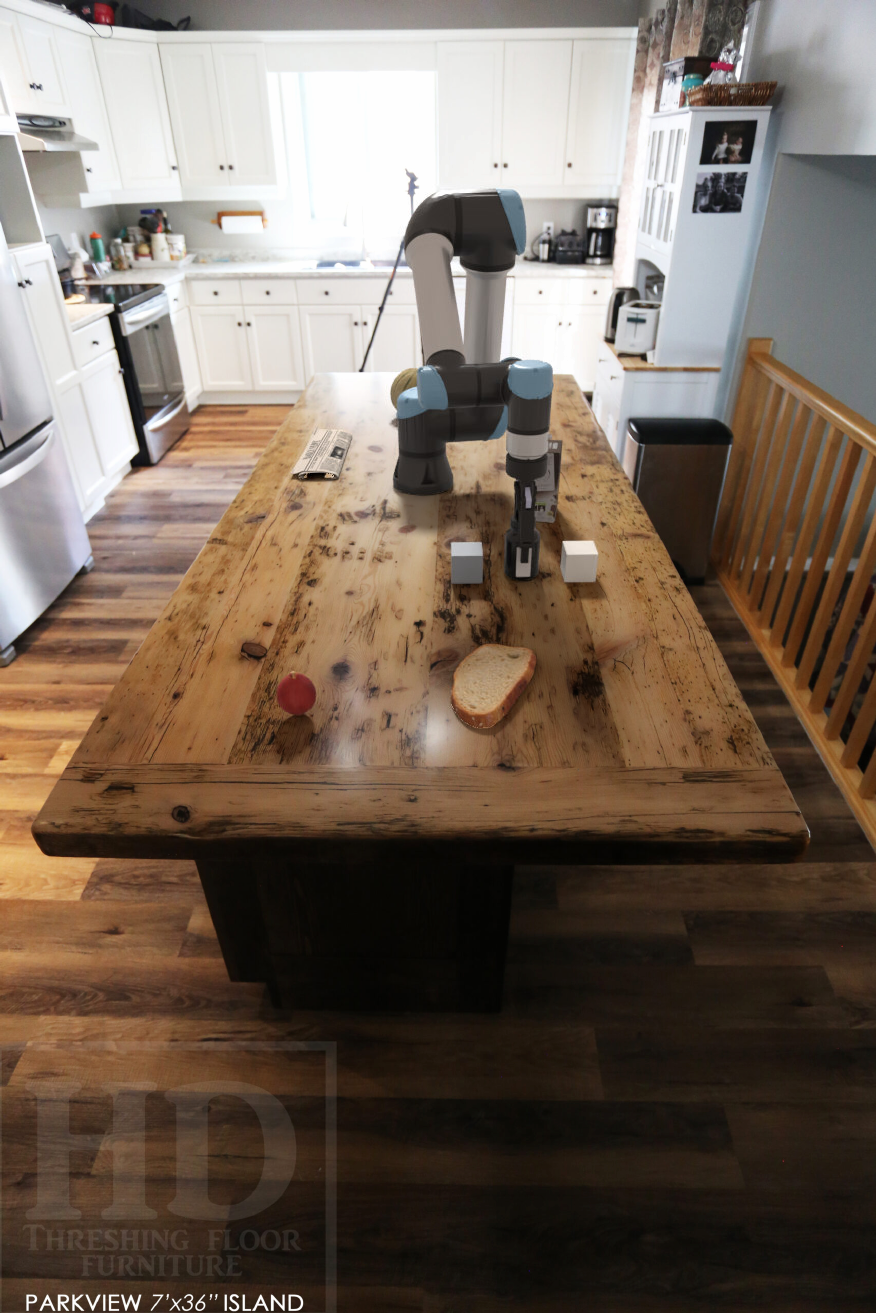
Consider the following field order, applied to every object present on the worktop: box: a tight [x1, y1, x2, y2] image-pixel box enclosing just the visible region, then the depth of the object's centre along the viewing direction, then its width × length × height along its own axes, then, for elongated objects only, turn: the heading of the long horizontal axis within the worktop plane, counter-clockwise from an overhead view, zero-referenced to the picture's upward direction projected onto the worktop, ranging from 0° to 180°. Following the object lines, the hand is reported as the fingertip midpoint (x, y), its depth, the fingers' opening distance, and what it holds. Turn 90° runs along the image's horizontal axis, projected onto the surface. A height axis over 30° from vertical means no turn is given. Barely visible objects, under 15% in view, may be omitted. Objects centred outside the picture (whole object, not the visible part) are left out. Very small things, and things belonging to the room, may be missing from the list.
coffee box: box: [534, 439, 563, 524], centre depth 170 cm, size 9×6×16 cm
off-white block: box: [559, 540, 599, 583], centre depth 148 cm, size 6×6×6 cm
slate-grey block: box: [450, 541, 484, 585], centre depth 149 cm, size 6×6×6 cm
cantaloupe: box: [389, 367, 418, 411], centre depth 235 cm, size 15×15×15 cm
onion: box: [276, 671, 317, 717], centre depth 112 cm, size 6×6×8 cm
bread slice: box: [450, 643, 537, 729], centre depth 119 cm, size 18×18×4 cm
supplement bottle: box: [503, 513, 541, 582], centre depth 147 cm, size 7×7×12 cm
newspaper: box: [290, 426, 353, 480], centre depth 209 cm, size 35×12×4 cm, turn 179°
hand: (521, 566), depth 150 cm, fingers closed on supplement bottle, 7 cm apart
